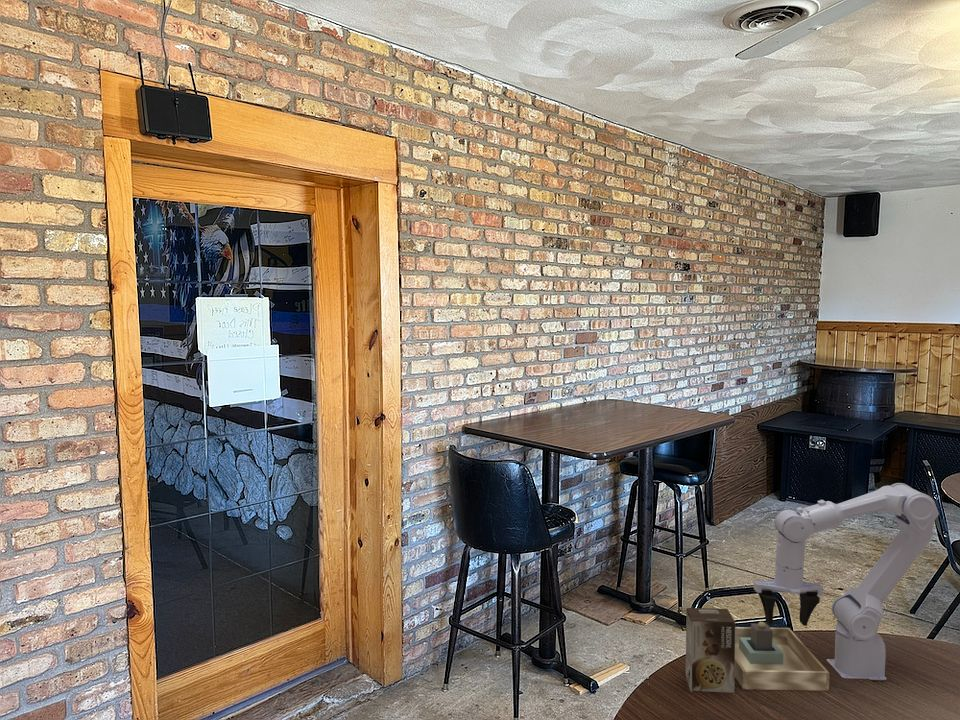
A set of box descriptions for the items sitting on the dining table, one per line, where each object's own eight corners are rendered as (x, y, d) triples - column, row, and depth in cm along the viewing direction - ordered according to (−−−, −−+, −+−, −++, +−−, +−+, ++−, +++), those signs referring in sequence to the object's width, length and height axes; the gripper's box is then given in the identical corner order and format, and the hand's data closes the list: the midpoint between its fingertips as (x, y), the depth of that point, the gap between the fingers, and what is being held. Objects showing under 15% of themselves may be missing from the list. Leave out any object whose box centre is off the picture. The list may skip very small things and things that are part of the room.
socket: (770, 647, 159) (770, 637, 159) (783, 664, 152) (783, 653, 152) (738, 647, 160) (739, 637, 159) (750, 663, 152) (750, 653, 152)
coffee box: (726, 679, 147) (728, 608, 146) (734, 695, 141) (736, 621, 139) (684, 676, 148) (685, 606, 147) (690, 693, 142) (692, 619, 140)
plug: (765, 652, 157) (766, 619, 157) (771, 660, 154) (772, 626, 153) (750, 652, 157) (751, 619, 157) (755, 660, 154) (756, 626, 153)
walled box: (788, 645, 161) (789, 627, 161) (828, 693, 141) (829, 672, 141) (713, 644, 162) (713, 626, 162) (742, 691, 142) (743, 671, 142)
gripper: (763, 570, 146) (760, 630, 147) (831, 573, 146) (827, 633, 147) (751, 558, 153) (748, 615, 154) (816, 560, 153) (812, 618, 154)
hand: (786, 623), depth 151 cm, fingers open, 7 cm apart
